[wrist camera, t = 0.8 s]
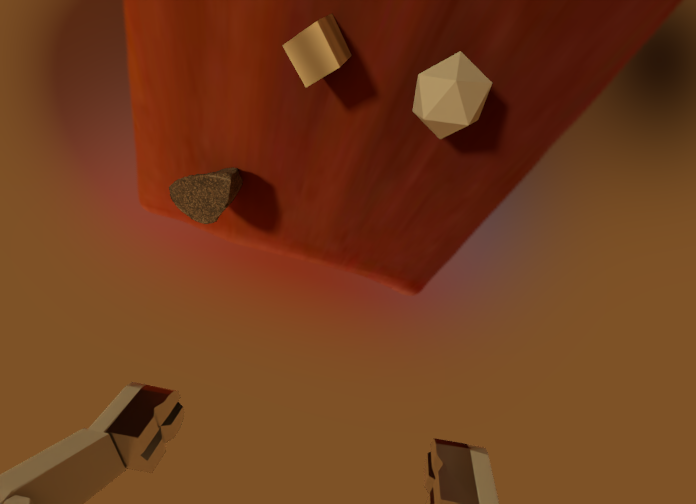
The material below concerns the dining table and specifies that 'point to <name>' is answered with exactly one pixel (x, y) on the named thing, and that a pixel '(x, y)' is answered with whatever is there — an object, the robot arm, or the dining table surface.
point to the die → (450, 95)
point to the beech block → (318, 50)
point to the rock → (206, 194)
